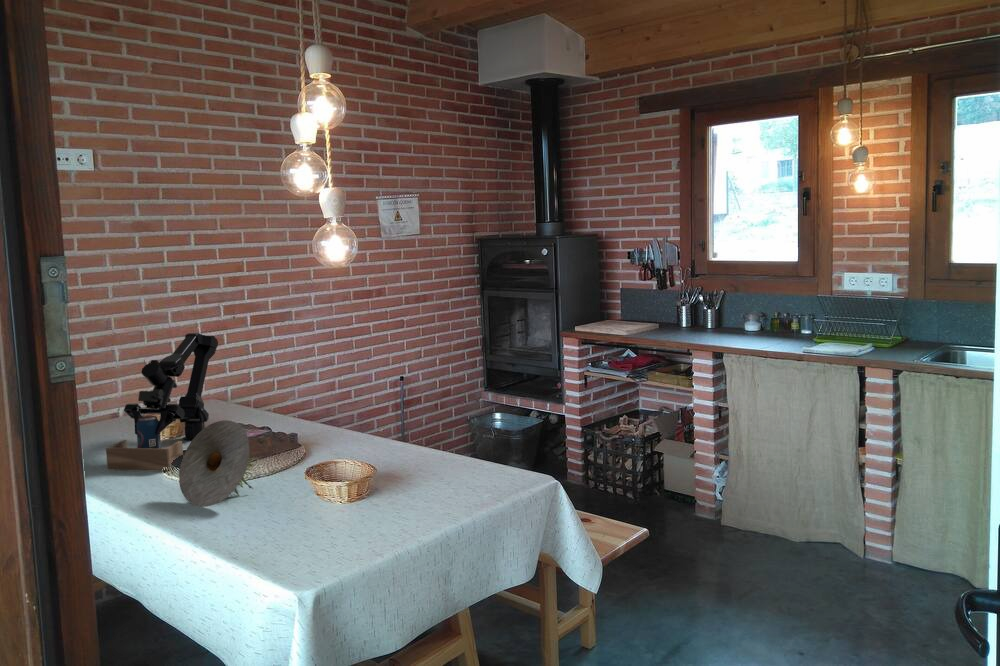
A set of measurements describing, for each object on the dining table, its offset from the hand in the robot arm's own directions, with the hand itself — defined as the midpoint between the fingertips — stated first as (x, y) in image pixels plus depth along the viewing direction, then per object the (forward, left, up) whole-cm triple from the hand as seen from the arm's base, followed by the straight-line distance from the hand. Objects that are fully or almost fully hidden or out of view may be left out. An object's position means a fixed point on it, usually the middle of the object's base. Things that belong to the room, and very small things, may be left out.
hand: (146, 434), depth 260 cm
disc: (+15, +44, -10) cm, 48 cm away
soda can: (-1, 0, -7) cm, 7 cm away
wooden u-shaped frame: (+1, 0, -10) cm, 10 cm away
